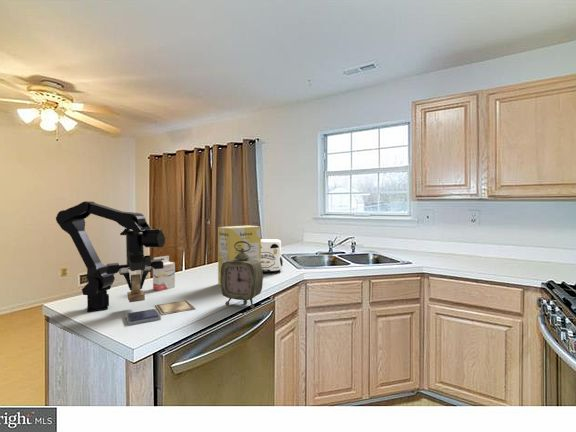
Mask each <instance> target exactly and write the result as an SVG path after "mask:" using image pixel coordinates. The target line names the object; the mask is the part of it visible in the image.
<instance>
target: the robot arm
mask: <svg viewBox="0 0 576 432" xmlns="http://www.w3.org/2000/svg"><path fill="white" fill-rule="evenodd" d="M91 215H94V216H98V217H101V218H105V219H107V220H111V221H113V222H116V223H117V224H118V225H119V226H121V227H123V228H124V229H123V231H121V232H120V234H119V235H120V236H125V240H126V241H125V245H126V247H125V249H126V250H125V251H126V255H125V257H126V264H120V263H119V262H113V263H107V264H105V265H104V263H102V261H101V259H100V256H98V254H97V252H96V249H95V248H94V245H93V243H92V241H91V240H90V238H89V236H88V234H87V232H86V229H85V227H86V220H85V219H86V218H88V217H90V216H91ZM55 220H56V223H57V224H58V226H59V227H60V228H61V230H63V231H64V232H65V233H67V234H68V235H69V236H70V238H71V240H72V242H73V243H74V246H75V247H76V250H77V251H78V254H79V256H80V258H81V259H82V261H83V263H84V266H85V268H86V270H87V271H86V279H87V282H88V283H87V284H86V285H84V287H82V289H81V292H82V295H83V296H87V297H86V299H87V301H86V303H87V304H86V305H87V307H86V313H87V312H89V313H90V312H96V311H103V310H108V307H109V306H110V295H109V293H108V290H110V289H112V285H113V284H114V282H115V280H116V279H115V278H116V276H115V274H118V273H119V275H121V276H123V277H124V278H125V281H126V283H127V286H128V288H129V290H130V291H131V274H130V272H129V270H130V271H131V272H136V271H140V283H141V290H142V289H143V287H144V286H143V285H144V283H145V280H146V277H148V274H149V273H150V272H153V268H154V269H162V268H163V262H162V261H161V260H162V259H156V260H154V259H152V257H151V255H150V254H149V255H145V254H144V247H145V248H153V249H154V248H163V247H164V246H165V243H166V237H165V235H164V232H163V230H162V228H156V229H153V228H152V227H151V226H150V225H149V223H148V222H147V221H146V217H145V215H144V214H143V213H139V212H133V211H132V212H131V211H122V210H118V209H117V208H116V209H115V208H112V207H110V206H106V205H102V204H99V203H96V202H94V201H87V200H86V201H82V202H80V203H79V204H77V205H74V206H71V207H69V208H66V209H65V210H64V209H62V210H60V211H59V212H57V215H56V216H55Z"/></svg>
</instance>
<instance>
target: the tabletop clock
mask: <svg viewBox="0 0 576 432" xmlns="http://www.w3.org/2000/svg"><path fill="white" fill-rule="evenodd" d="M238 243H246V244H248V245H249V247H250V248H251V246H250V244H249V243H248V242H245V241H238V242H236V243H235V245H234V248H235V249H236V247H235V246H236V244H238ZM250 248H249V249H248V250H244V249H243V248H241V250H238V249H236V250H237V251H239V252H241V253H239V254H237V256H236V259H233V260H230V261H227V262H225V263H223V264H222V267H221V278H220V280H221V285H220V288H221V294H222V296H223V297H225V298H227V299H228V300H227V301H225V303H224V305H225V306H228V307H229V305H230V301H231V300H237V301H238V300H239V301H242V303H243V304H244V305H245V304H247V303H248V301H249V302H250V309H252V310H253V309H255V308H256V307H255V304H253V299H254V298H256V297H257V296H259V295H260V294H261V292H262V290H263V283H264V275H263V274H264V272H263V271H262V265H261V263H260V262H259V261H258V260H254V259H249V256H248V255H247V254H246V253H244V252H247V251H249V250H250Z"/></svg>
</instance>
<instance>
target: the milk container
mask: <svg viewBox="0 0 576 432" xmlns="http://www.w3.org/2000/svg"><path fill="white" fill-rule="evenodd" d="M283 262H284V261H283V258H282V241H281V240H280V239H275V238H272V239H271V238H270V239H269V238H263V239H262V238H261V265H262V271H263V273H276V272H280V271H281V270H282V269H283V266H284V265H283V264H284V263H283Z"/></svg>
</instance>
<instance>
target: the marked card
mask: <svg viewBox="0 0 576 432" xmlns="http://www.w3.org/2000/svg"><path fill="white" fill-rule="evenodd" d="M155 307H156V310H157V311H158V313H159V314H160V316H163V315H170V314H175V313H181V312H187V311H192V310H196V306H194V305H193V304H192V303H191V302H190V301H189V300H187V299H185V300H180V301H171V302H167V303H160V304H159V303H158V304H155Z"/></svg>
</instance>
